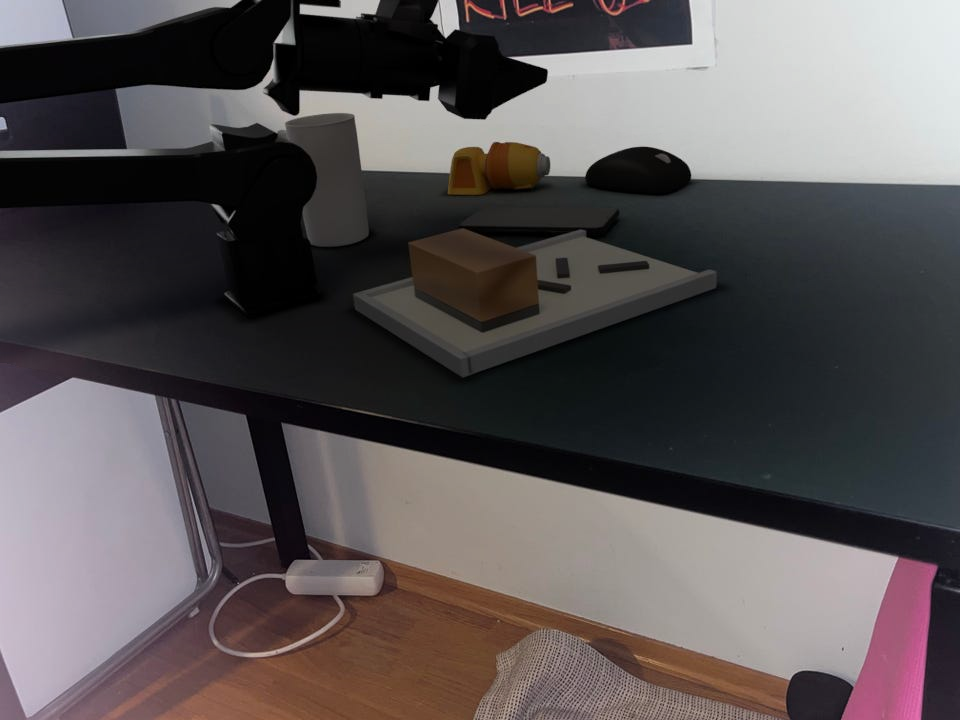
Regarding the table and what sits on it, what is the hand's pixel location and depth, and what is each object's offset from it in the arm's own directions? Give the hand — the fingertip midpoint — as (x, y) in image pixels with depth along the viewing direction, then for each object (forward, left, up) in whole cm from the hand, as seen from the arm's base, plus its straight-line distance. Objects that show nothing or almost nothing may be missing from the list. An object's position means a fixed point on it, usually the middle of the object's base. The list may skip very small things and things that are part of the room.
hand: (521, 67), depth 77 cm
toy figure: (+9, +19, -16) cm, 26 cm away
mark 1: (-9, -14, -15) cm, 22 cm away
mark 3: (-2, -15, -15) cm, 21 cm away
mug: (-14, +17, -16) cm, 27 cm away
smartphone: (+3, +3, -16) cm, 16 cm away
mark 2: (-5, -12, -15) cm, 19 cm away
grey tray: (-9, -13, -16) cm, 22 cm away
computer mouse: (+20, +8, -16) cm, 27 cm away
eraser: (-15, -13, -15) cm, 24 cm away
